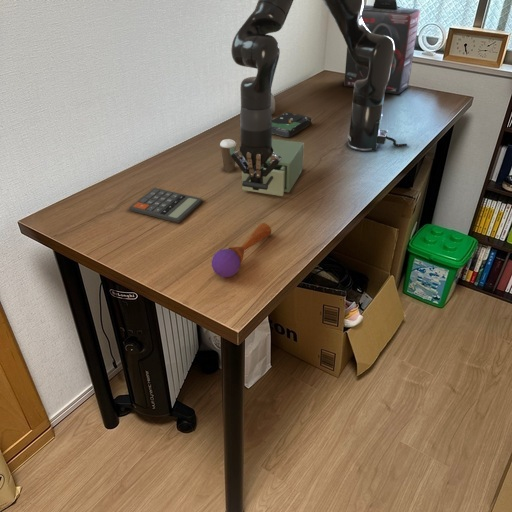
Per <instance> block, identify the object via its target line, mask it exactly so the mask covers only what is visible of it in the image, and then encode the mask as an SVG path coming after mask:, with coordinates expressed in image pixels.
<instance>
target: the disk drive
mask: <svg viewBox="0 0 512 512" xmlns="http://www.w3.org/2000/svg"><path fill="white" fill-rule="evenodd" d="M311 124H312V117H311V116H307V115H303V114H299V113H297V114H293V112H289V111H285V112H284V113H282V114H280V115H278V116H277V117H275V118H272V135H277V136H280V137H284V138H290V137H292V136H295V135H296V134H297V133H299V132H301V131H302V130H303V129H306V128H307V127H308V126H310V125H311Z"/></svg>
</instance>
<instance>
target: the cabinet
mask: <svg viewBox="0 0 512 512" xmlns="http://www.w3.org/2000/svg"><path fill="white" fill-rule="evenodd" d="M304 145H305V143H304V142H299V141H291V140H283V139H277V138H272V148H273V153H274V154H275V155H276V156H277V157H278V156H280V157H281V158H282V159H281V161H280V162H279V164H278V165H284V166H287V182H286V186H285V188H284V193H290V192H291V190H292V189H293V187H294V185H295V184H296V182H297V180H298V179H299V177H300V175H301V174H302V172H303V167H304V149H305V148H304V147H305V146H304ZM244 159H245V158H244ZM245 160H246V159H245ZM270 160H271V157H270V158H269V159H268V160H267V161H266V162H265V163H270ZM246 162H247V161H246ZM247 163H248V162H247ZM270 164H271V163H270Z"/></svg>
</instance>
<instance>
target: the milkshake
mask: <svg viewBox="0 0 512 512" xmlns="http://www.w3.org/2000/svg"><path fill="white" fill-rule="evenodd" d="M238 140H239V138H237V140H236V141H235V140H233V139H231V138H225V139H223V140H221V141H220V143H219V147H220V153H221V158H222V166H223V171H224V172H225V173H226V172H227V173H230V172H231V173H232V172H234V171H235V170H236V162H235V161H234V159H233V158H232V154H233V153H234V152H235V151H236V150H237V149H236V148H237V141H238Z"/></svg>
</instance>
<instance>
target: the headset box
mask: <svg viewBox="0 0 512 512" xmlns="http://www.w3.org/2000/svg"><path fill="white" fill-rule="evenodd" d="M420 15H421V9H420V8H407V7H406V8H405V7H398V3H397V0H374V2H373V5H369V4H363V10H362V14H361V18H362V21H363V22H364V24H365V26H366V28H367V29H368V30H369V31H370V32H371V33H374V34H379V35H383V36H387V37H390V38H391V39H392V40H393V43H394V56H393V62H392V67H391V72H390V77H389V81H388V84H387V86H386V89H385V93H388V94H395V95H399V94H401V93H402V92H403V91H405V90H406V89H407V88H409V85H410V80H411V73H412V65H413V61H414V60H413V58H414V53H415V47H416V40H417V35H418V27H419V20H420ZM368 72H369V68H365V67H362V66H359V65H358V64H356V63H355V62H354V60H353V59H352V57H351V54H350V52H349V49H348V47H347V46H346V58H345V69H344V80H343V81H344V82H343V86H344V87H349V88H350V87H351V88H354V84H355V82H356V81H357V80H359V79H362V78H367V76H368Z"/></svg>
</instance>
